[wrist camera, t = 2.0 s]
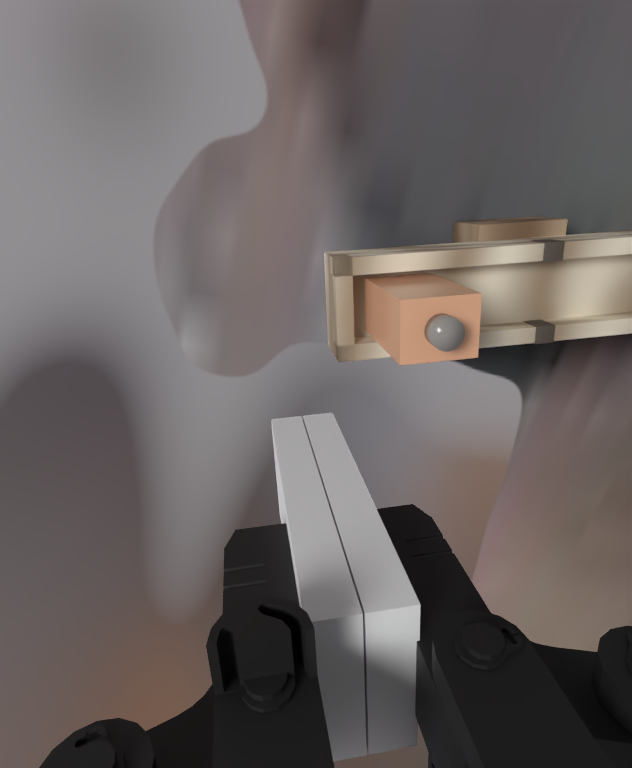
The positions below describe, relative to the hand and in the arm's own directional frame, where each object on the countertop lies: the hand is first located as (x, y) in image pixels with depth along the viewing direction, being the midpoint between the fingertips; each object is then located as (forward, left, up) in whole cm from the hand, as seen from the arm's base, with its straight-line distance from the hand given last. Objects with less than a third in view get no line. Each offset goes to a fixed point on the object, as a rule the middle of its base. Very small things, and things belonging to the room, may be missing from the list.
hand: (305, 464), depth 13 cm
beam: (0, +17, -24) cm, 30 cm away
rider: (0, +8, -18) cm, 20 cm away
